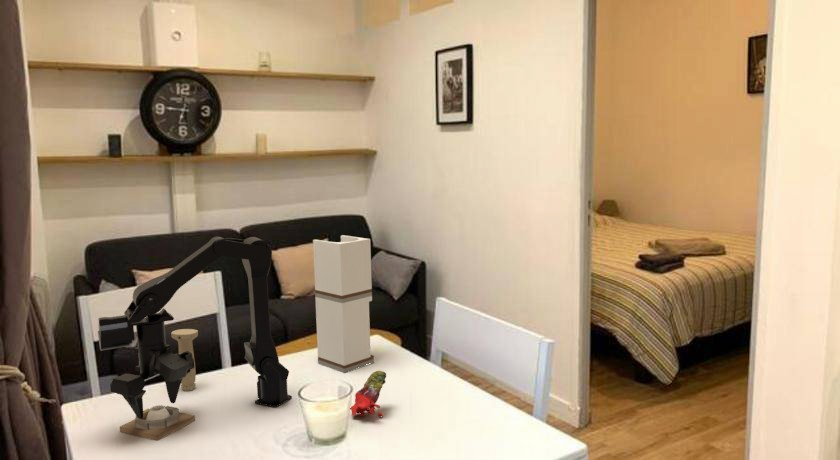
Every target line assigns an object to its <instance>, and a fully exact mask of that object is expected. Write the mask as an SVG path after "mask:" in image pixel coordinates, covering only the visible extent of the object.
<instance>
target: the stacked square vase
mask: <svg viewBox="0 0 840 460" xmlns="http://www.w3.org/2000/svg"><path fill="white" fill-rule="evenodd" d="M312 245H313V246H312V247H313V248H312V249H313V252H312V253H313V271H314V295H315V319H316V343H317V364H318V365H321V366H324V367H326V368H328V369H332V370H335V371H338V372H341V373H344V374H346V373H348V371H349V372H352V371H354V370H353V369H355V370H357V369H356V368H358V367H361V366H363V367H365V366H364V365H366V364H369V363H372V362H374V363H375V359H374V358H375V355H372V354H371V329H370V328H371V325H370V302H372V301H373V292H372V291H373V286H372V284H373V283H372V259H371V258H372V256H371V255H372V254H371V253H372V252H371V251H372V250H371V238H364V237H358V236H351V235H344V234H342V235H340V241H339V242H338V241H337V242H336V241H327V240H321V239H312ZM372 364H373V363H372ZM369 365H370V364H369ZM366 366H367V365H366ZM361 368H362V367H361ZM358 369H359V368H358ZM351 370H352V371H351Z"/></svg>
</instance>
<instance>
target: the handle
mask: <svg viewBox="0 0 840 460" xmlns="http://www.w3.org/2000/svg"><path fill="white" fill-rule="evenodd" d="M170 335H171V338H172V339H173V340H175V341H177V343H178V344H177V345H178V354H181V353H183V352H186V351H189V352H191V353H192V357H193V359H194V368H193V369H190V370H191V371H190V373H188V374H187V375H186V377H184V378H183V379H182V381H181V384H180V387H181V388H180V389H181V390H183V391H184V392H187V391H192V390H194V389H196V383H195V382H196V378H197V377H196V375H197V374H196V373H197V372H196V371H197V370H196V362H195V361H196V360H195V353H194V347H193V346H194V345H193V340H194V339H196V338H197V337H198V336H199V331H198V330H197V329H192V328H182V329H175V330H172V332H171V334H170Z"/></svg>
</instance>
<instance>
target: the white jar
mask: <svg viewBox="0 0 840 460" xmlns="http://www.w3.org/2000/svg"><path fill="white" fill-rule="evenodd" d="M165 407H166V405H162V404H161V405H154V406H152V407H150V408H151V409H150V408H149V409H150V412H149V413H148V415H147V418H146V420H148V421H154V420H161V419H165V418H167V417H169V416H170V414H169V412H168V411H167V409H165Z"/></svg>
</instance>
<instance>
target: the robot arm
mask: <svg viewBox="0 0 840 460" xmlns="http://www.w3.org/2000/svg"><path fill="white" fill-rule="evenodd" d="M221 257H229V258H235V259H241V261H242V266H243V267H244V270H245V273H246V275H247V280H248V296H249V310H250V311H249V312H250V325H251V336H250V340H249V341H248V342H247V341H245V342H243V344H244V345H243V346H244V350H245V355H244V359H245V360H246V362H248V364H249V366H250V367H251V368H252V369H253V370H254V371H255V372H256V373H257V374H259V375H257V382H256V390H257V398H258V399H256V400H254V404H256V405H262V406H266V407H272V408H277V407H279V406H281V405H282V404H284V403H286V402H287V401H289V400H291V399H292V398H293V397H292V395H289V394H288V377H289V374H290V370H289V369H287V368H286V367H285V366H284V365H283V364H282V363H280V360H279V357H278V356H279V355H278V352H277V348H276V346H275V341H274V340H273V338H272V333H271V331H272V330H271V318H270V302H269V301H270V300H269V287H268V285H269V284H268V283H269V282H268V275H269V272H270V269H271V266H272V257H273V250H272V246H271V245H270V243H268V241H265V240H263V239H261V238H258V237H256V236H250V237H246V238H245V239H239V238H226V237H225V238H224V237H221V236H214V237H212V238H210V240H208V242H207V243H205V244H204V245H203V246H201V247H200V248H198V250H196V251H194V252H193V253H192V254H191V255H188V257H186V258H185V259H184V260H182V261H181V262H180V263H177V265H176V266H174V267H173V268H171V269H170V270H169V271H168V272H166V273H164V274H162V275H159V276H157V277H153V278H151V279H149V280H147V281H145V282H143V283H142V284H140V285H139V286H136V288H135V289H134V290H133V293H132V301H131V302H130V304H129V305H128V307H127V308H126V309H125V311H124V315H118V316H117V315H116V316H109V317H106V316H104V317H103V316H101V317H98V318H97V319H98V330H97V336H98V345H99V350H100V351H101V352H102V351H105V350H106V351H107V350H114V349H119V348H124V347H126V348H128V347H130V345H131V344H133V341H135V330H136V339H137V340H136V341H137V347H134V348H133V353H134V354H138V365H136V366H135V367H134V368H135V369H134V370H135V372H140V373H139V374H136V375H135V374H131V373H123V374H122V375H119V376H117V377H114V378H112V379H111V381H110V383H109V386H110V388H109V389H110V392H111V393H115V394H116V395H120V396H122V397H123V399H124V400H125V401H126V402H127V404H128V405H129V406H130V408H131V410H132V411H133V413H134V414H135V417H136V416H137V417H138V418H139V419H142V418H143V411H144V402H143V396H144V395H145V394H146V392H147V390H145V389H144V388H145V386H146V384H145V383H146V382H147V381H149V380H152V379H155V378H156V377H160V376H161V377H163V378H164V382H165V387H166V391H167V396H168V399H169V402H170V403H171V404H175V403H176V400H177V398H178V393H179V391H180V387H181V385H182V384H181V381H182V379H183V378H184V377H186V375H187V374H188V373H190V371H191V370H190V369H193V368H194V360H195V358H194V359H193V357H192V353H191V352H189V351H186V352H183V353H181V354H179V353H177V352H176V353H173V349H172V346H171V344H167V340H166V328H165V327H166V325H165V322H170V321H174V320H175V317H174V316H173V315H172V314H171V313H170V312H168V311H167V310H166V308H164V307H165V306H166V305H167V304H168V303H169V302H171V299H172V298H173V297H174V295H175V294H176V293H177V291H179V289H181V288H182V287H183V286H184V285H186V284H187V283H188V282H190V281H191V280H192V279H193V278H195V277H196V276H197V275H199V274H201V272H203V271H204V270H205V269H207V268H208V267H209V266H211V265H212V264H214V263H215V262H216V261H217V260H219V259H221ZM134 327H135V328H136V329H135V328H134Z"/></svg>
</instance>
